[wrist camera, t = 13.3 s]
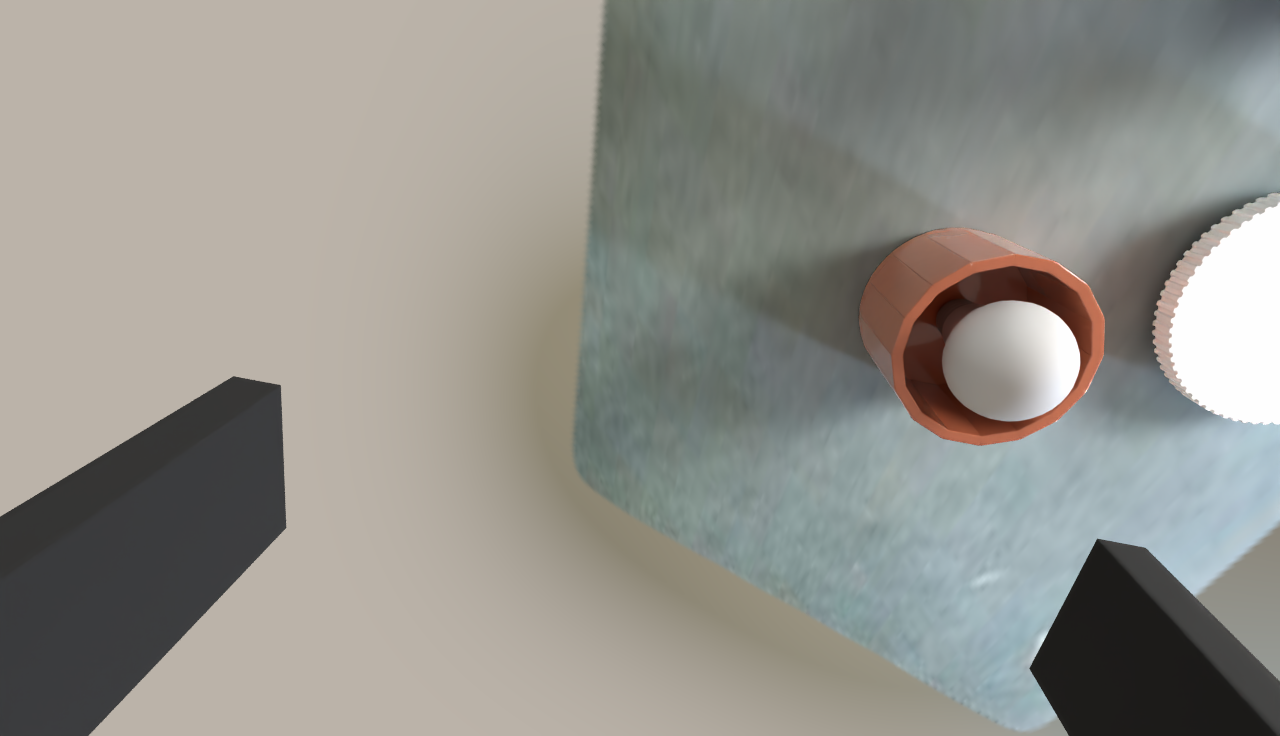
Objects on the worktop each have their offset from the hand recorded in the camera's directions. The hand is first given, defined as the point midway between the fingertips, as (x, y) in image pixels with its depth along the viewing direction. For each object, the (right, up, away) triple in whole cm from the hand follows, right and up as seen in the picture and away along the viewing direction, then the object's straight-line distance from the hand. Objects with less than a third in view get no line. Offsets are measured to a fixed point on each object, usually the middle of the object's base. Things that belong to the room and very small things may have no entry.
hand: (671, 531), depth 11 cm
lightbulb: (+19, +6, +31) cm, 36 cm away
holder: (+19, +6, +31) cm, 37 cm away
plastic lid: (+37, +7, +30) cm, 48 cm away
